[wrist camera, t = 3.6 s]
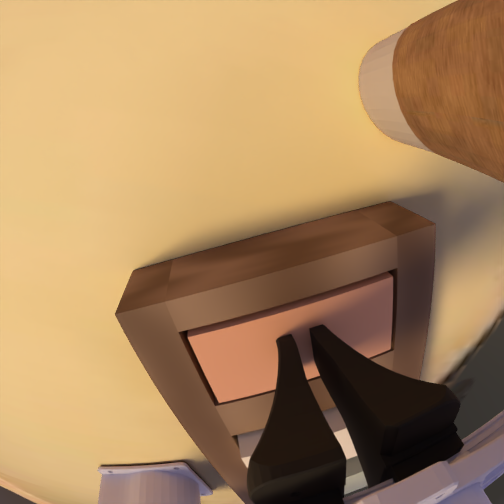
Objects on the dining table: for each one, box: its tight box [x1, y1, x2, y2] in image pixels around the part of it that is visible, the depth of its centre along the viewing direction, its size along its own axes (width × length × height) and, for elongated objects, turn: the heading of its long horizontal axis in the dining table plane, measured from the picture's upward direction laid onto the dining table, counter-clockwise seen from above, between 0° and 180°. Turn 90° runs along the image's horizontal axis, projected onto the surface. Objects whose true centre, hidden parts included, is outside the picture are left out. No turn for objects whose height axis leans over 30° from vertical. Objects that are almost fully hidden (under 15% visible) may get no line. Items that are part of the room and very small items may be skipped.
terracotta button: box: [188, 272, 393, 403], centre depth 15 cm, size 9×4×4 cm, turn 103°
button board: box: [115, 201, 436, 504], centre depth 18 cm, size 14×24×4 cm, turn 13°
